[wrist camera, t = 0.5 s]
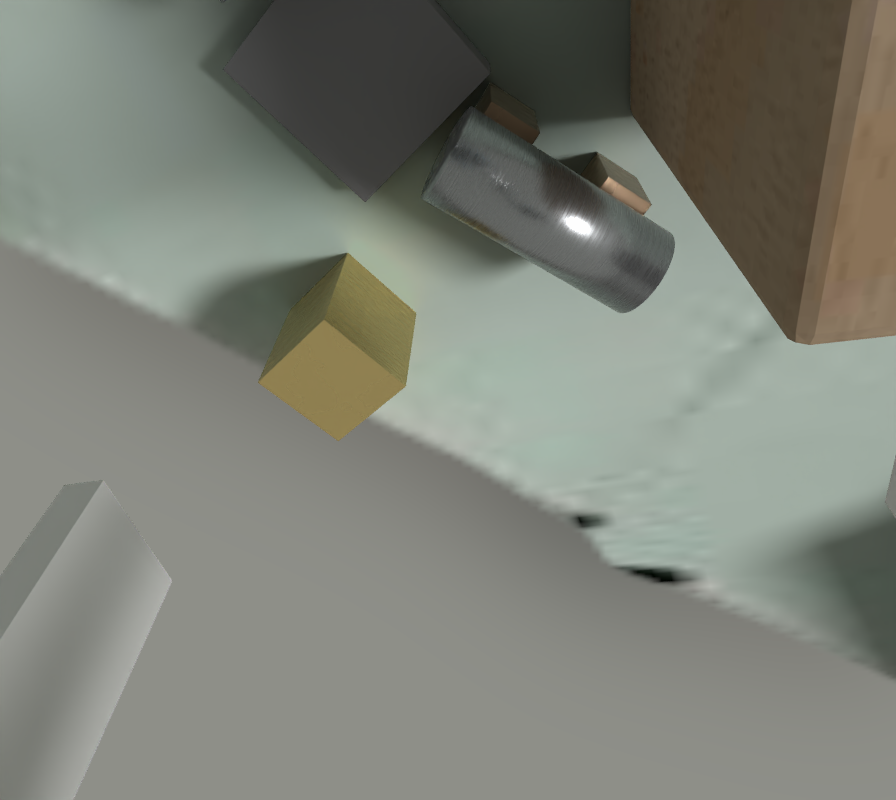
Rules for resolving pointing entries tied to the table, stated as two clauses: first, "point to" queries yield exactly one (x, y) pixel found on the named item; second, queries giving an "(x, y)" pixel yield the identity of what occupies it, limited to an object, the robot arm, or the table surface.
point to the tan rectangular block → (342, 349)
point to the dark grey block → (358, 79)
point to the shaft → (549, 204)
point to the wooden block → (783, 146)
